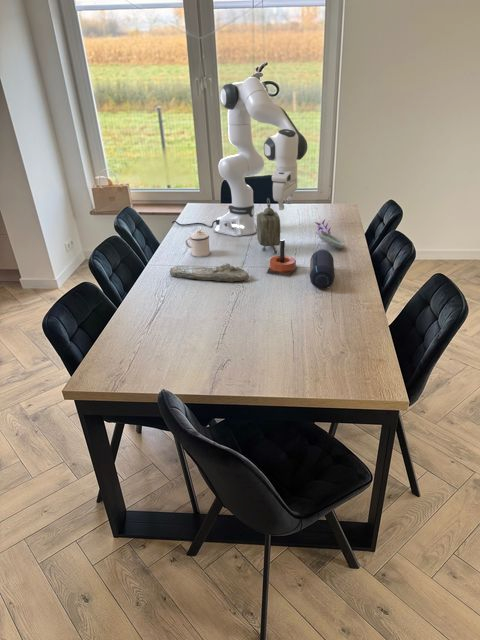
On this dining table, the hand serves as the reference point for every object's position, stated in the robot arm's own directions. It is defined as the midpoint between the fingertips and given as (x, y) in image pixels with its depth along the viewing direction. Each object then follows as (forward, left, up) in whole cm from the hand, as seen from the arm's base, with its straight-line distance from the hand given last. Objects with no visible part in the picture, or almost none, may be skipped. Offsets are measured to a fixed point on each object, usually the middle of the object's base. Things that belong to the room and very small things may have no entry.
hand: (285, 206), depth 208 cm
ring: (+1, -6, -25) cm, 26 cm away
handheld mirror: (+11, +36, -27) cm, 46 cm away
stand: (+1, -7, -26) cm, 27 cm away
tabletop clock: (-14, +14, -27) cm, 33 cm away
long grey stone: (-26, -25, -27) cm, 45 cm away
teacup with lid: (-44, -2, -27) cm, 51 cm away
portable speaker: (+20, -10, -27) cm, 35 cm away
